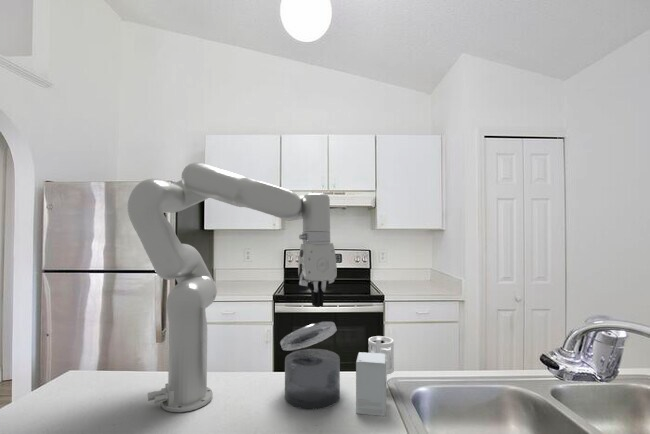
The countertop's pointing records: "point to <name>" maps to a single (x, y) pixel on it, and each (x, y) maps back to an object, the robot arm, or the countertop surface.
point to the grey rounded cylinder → (312, 378)
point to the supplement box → (371, 384)
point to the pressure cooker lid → (308, 335)
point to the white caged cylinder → (383, 351)
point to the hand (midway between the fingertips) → (317, 305)
